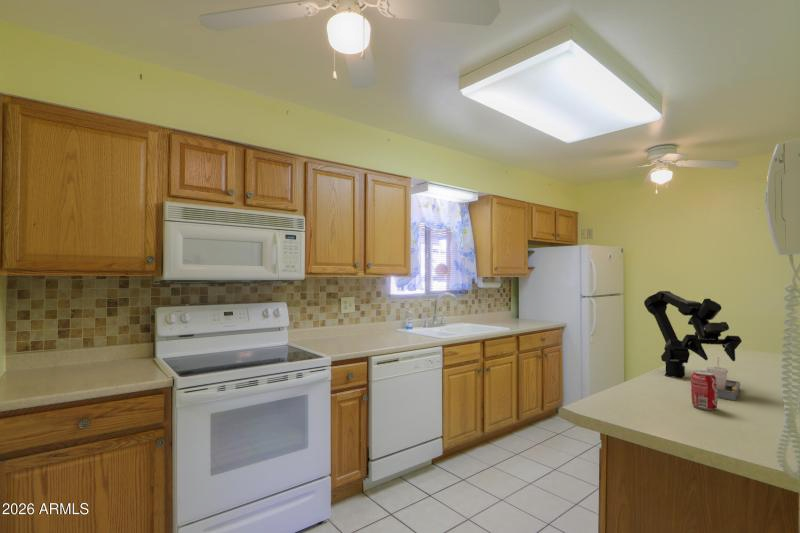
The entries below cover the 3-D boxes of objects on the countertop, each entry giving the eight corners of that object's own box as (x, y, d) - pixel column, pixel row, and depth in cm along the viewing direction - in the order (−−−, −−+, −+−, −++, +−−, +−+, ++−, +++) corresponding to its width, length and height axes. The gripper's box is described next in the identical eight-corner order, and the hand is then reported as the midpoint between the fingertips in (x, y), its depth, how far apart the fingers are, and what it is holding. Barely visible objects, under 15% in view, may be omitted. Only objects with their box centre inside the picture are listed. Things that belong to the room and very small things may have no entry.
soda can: (712, 405, 137) (712, 370, 138) (721, 412, 131) (720, 375, 131) (688, 403, 140) (688, 369, 140) (695, 409, 133) (695, 373, 133)
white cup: (714, 396, 148) (714, 358, 148) (703, 391, 154) (702, 355, 154) (732, 397, 147) (732, 359, 147) (720, 392, 154) (720, 355, 154)
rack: (698, 394, 150) (698, 385, 150) (706, 384, 165) (706, 376, 165) (735, 400, 143) (735, 391, 143) (740, 389, 157) (740, 381, 157)
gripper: (685, 313, 156) (701, 346, 145) (738, 314, 153) (759, 348, 142) (674, 331, 164) (690, 363, 153) (725, 332, 161) (744, 365, 150)
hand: (720, 360), depth 149 cm, fingers open, 9 cm apart
